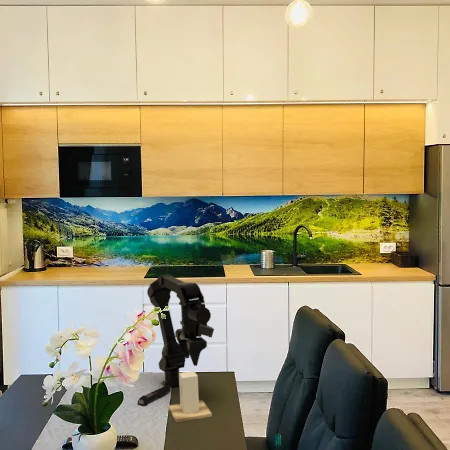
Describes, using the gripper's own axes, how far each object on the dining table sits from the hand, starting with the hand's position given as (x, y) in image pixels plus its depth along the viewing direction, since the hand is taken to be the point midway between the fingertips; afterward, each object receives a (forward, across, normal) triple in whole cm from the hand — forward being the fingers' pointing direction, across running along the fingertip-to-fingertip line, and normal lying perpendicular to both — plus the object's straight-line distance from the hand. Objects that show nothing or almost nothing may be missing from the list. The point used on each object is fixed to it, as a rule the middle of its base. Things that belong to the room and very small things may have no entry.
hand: (191, 361), depth 194 cm
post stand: (+13, -12, +5) cm, 18 cm away
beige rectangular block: (+12, -12, +5) cm, 18 cm away
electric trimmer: (+14, +5, +13) cm, 19 cm away
